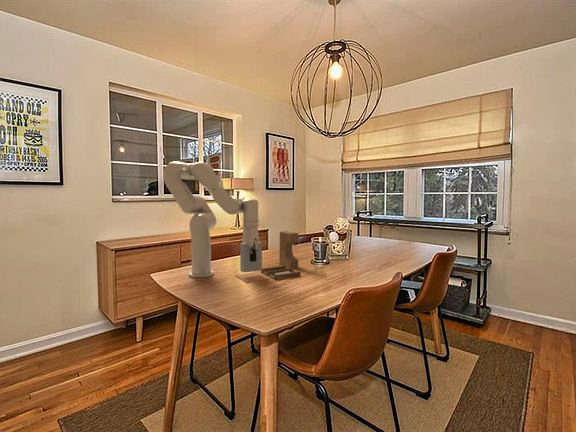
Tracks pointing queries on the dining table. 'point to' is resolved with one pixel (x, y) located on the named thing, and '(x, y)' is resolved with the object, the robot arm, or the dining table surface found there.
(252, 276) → the terracotta mat
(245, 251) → the grey rectangular block
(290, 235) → the decorative block
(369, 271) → the dining table surface
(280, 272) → the upper offcut slab
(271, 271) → the tray
